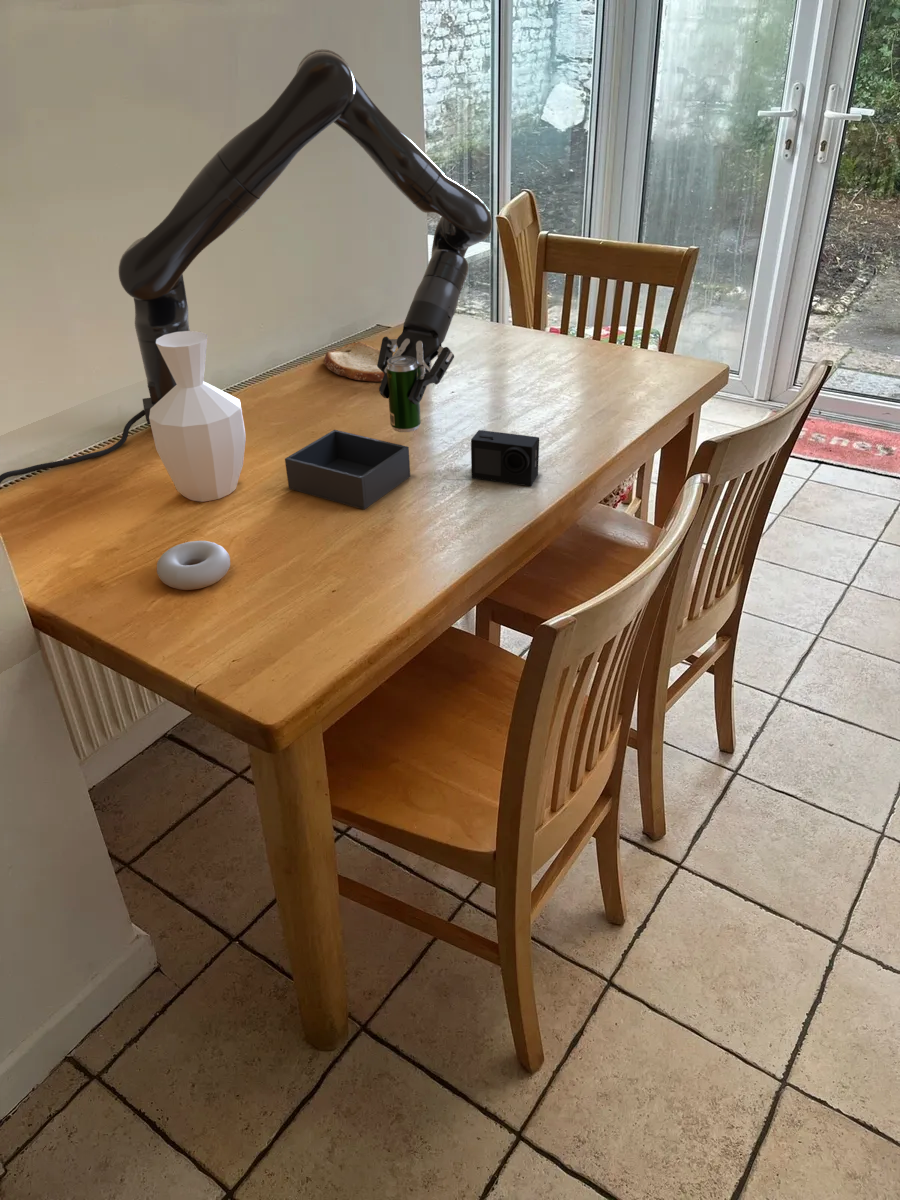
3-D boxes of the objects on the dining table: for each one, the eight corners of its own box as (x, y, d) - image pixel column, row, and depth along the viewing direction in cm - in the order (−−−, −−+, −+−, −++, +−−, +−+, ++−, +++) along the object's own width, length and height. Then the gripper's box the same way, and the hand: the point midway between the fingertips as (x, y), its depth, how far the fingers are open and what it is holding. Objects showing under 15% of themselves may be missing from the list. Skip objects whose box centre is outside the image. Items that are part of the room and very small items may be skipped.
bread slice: (403, 381, 186) (402, 364, 184) (317, 383, 186) (315, 366, 184) (407, 353, 201) (406, 336, 198) (328, 355, 201) (326, 338, 199)
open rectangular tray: (364, 509, 139) (361, 478, 136) (288, 488, 146) (284, 458, 143) (410, 476, 149) (408, 446, 146) (337, 458, 155) (334, 429, 152)
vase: (178, 518, 139) (143, 361, 125) (157, 482, 149) (123, 334, 135) (266, 497, 144) (242, 343, 130) (240, 464, 154) (216, 319, 140)
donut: (236, 555, 129) (165, 558, 129) (232, 534, 127) (161, 537, 127) (227, 593, 121) (152, 596, 120) (223, 571, 119) (147, 575, 118)
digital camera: (468, 481, 147) (467, 442, 143) (478, 467, 151) (478, 429, 147) (529, 490, 144) (530, 450, 140) (538, 475, 148) (539, 436, 144)
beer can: (400, 435, 155) (396, 368, 148) (385, 425, 158) (380, 359, 152) (426, 427, 157) (423, 361, 150) (410, 418, 161) (407, 353, 154)
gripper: (388, 293, 155) (353, 382, 153) (459, 304, 148) (424, 397, 147) (406, 316, 161) (373, 401, 160) (475, 326, 155) (442, 416, 153)
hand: (398, 399), depth 153 cm, fingers closed on beer can, 5 cm apart
